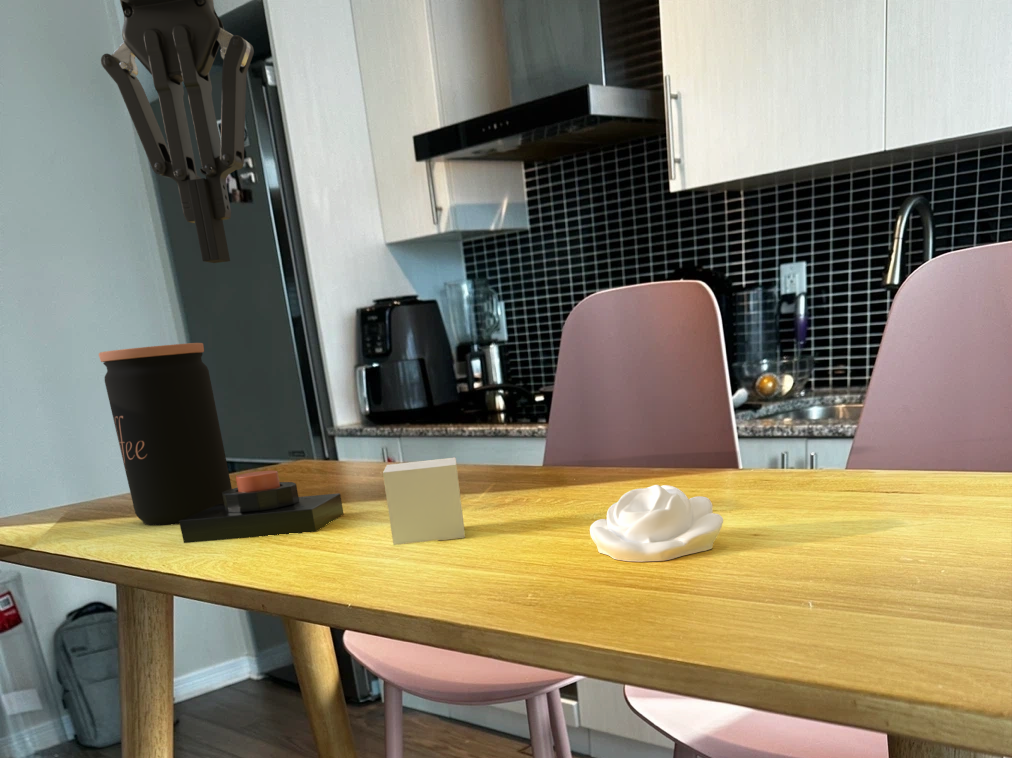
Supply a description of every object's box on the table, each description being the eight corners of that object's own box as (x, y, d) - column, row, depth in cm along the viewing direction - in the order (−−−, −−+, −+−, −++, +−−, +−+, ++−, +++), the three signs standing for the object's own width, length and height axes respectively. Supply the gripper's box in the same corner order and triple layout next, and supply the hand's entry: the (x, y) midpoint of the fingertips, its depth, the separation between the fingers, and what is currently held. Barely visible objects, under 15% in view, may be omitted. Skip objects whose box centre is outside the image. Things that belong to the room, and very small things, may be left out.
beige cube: (464, 526, 91) (456, 457, 89) (465, 538, 86) (456, 464, 84) (396, 533, 91) (386, 464, 89) (393, 545, 85) (382, 472, 83)
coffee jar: (140, 518, 119) (103, 353, 112) (235, 505, 121) (203, 344, 115) (134, 531, 109) (92, 351, 103) (237, 517, 111) (202, 341, 105)
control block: (183, 543, 98) (174, 501, 96) (222, 525, 107) (215, 486, 105) (315, 532, 96) (308, 489, 95) (344, 514, 105) (337, 475, 104)
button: (232, 496, 99) (229, 478, 98) (247, 490, 102) (244, 472, 102) (272, 493, 98) (269, 474, 97) (286, 487, 102) (282, 469, 101)
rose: (742, 472, 74) (696, 495, 66) (743, 533, 76) (699, 563, 68) (615, 476, 79) (558, 498, 71) (619, 534, 80) (564, 562, 72)
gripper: (249, -46, 88) (298, 255, 96) (104, -23, 89) (165, 271, 97) (215, -78, 81) (272, 249, 89) (59, -53, 82) (129, 267, 90)
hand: (216, 260), depth 93 cm, fingers closed
